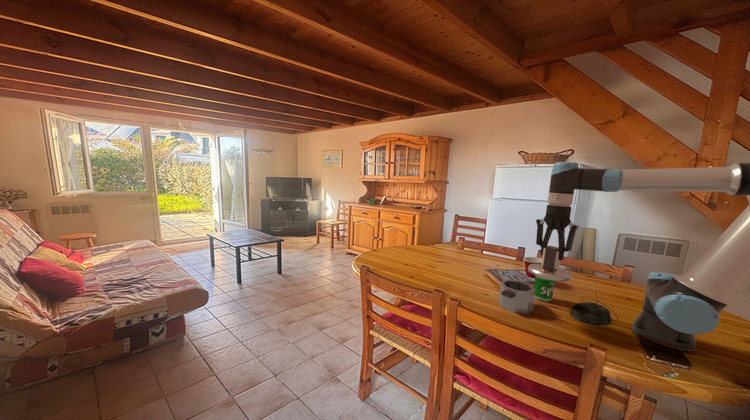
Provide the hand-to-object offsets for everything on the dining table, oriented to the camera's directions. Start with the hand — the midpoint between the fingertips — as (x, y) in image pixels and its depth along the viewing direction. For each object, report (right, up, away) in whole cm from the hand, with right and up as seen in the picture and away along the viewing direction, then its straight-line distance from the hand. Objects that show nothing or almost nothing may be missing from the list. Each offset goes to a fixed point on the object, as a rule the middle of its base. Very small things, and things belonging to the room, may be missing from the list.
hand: (550, 265), depth 101 cm
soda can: (+9, -19, +20) cm, 29 cm away
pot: (-7, -20, +12) cm, 24 cm away
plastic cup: (+17, -17, +41) cm, 48 cm away
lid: (0, -3, 0) cm, 3 cm away
